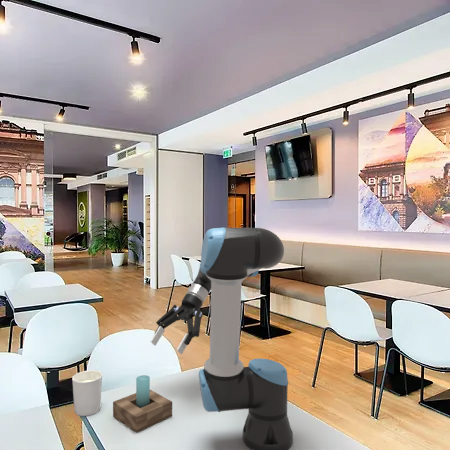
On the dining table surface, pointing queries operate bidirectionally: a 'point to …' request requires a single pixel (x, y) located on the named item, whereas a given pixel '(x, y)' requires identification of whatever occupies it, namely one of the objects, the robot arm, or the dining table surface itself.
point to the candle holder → (87, 392)
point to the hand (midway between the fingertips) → (165, 347)
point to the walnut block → (142, 411)
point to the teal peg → (142, 391)
